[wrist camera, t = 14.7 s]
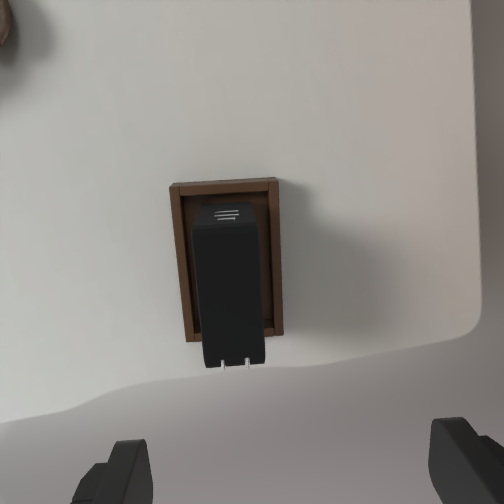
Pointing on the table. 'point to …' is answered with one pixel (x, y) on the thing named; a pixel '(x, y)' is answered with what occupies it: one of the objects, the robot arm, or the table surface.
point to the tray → (268, 221)
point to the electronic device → (229, 284)
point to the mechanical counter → (4, 21)
